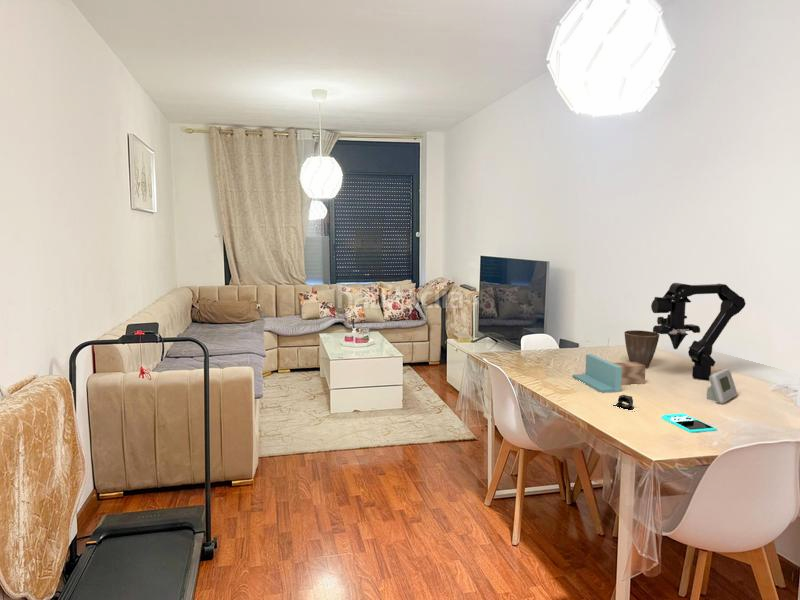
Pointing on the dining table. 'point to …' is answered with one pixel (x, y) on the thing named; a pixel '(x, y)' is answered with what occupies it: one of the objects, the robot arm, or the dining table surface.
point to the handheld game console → (688, 423)
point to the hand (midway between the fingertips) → (675, 349)
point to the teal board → (601, 374)
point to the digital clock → (721, 386)
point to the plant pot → (641, 346)
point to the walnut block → (632, 373)
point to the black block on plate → (625, 399)
